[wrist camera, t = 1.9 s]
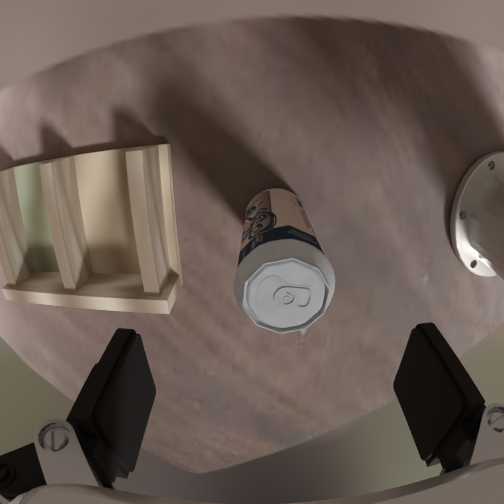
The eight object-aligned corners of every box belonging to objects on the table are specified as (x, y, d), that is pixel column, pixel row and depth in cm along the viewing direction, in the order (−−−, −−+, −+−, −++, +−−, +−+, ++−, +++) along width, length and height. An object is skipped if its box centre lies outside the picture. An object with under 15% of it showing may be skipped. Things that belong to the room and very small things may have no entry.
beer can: (247, 183, 24) (235, 242, 13) (309, 190, 24) (349, 253, 13) (242, 241, 26) (229, 335, 15) (301, 247, 26) (326, 343, 15)
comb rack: (170, 143, 23) (149, 149, 18) (182, 283, 27) (169, 313, 23) (6, 168, 23) (-25, 179, 19) (30, 277, 28) (5, 299, 24)
